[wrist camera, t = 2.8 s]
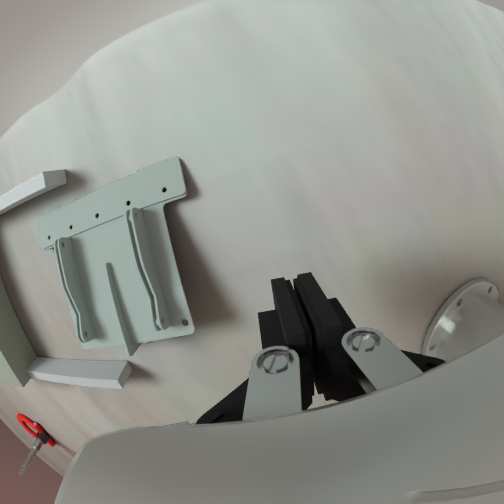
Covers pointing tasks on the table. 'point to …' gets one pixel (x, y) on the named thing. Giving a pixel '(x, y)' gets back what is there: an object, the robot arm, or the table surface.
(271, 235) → the table surface
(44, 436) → the tow hook
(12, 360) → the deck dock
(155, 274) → the metal bracket
